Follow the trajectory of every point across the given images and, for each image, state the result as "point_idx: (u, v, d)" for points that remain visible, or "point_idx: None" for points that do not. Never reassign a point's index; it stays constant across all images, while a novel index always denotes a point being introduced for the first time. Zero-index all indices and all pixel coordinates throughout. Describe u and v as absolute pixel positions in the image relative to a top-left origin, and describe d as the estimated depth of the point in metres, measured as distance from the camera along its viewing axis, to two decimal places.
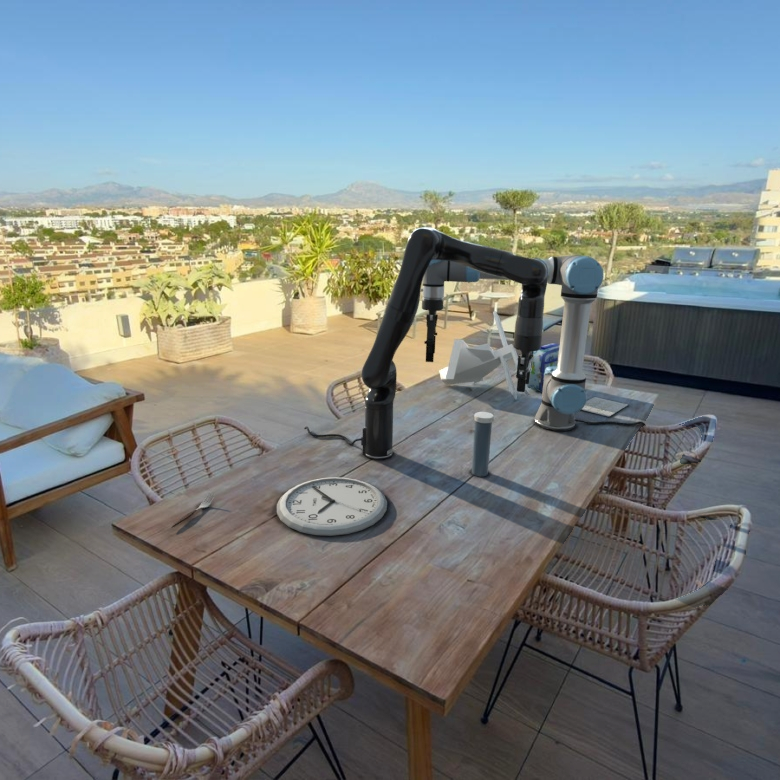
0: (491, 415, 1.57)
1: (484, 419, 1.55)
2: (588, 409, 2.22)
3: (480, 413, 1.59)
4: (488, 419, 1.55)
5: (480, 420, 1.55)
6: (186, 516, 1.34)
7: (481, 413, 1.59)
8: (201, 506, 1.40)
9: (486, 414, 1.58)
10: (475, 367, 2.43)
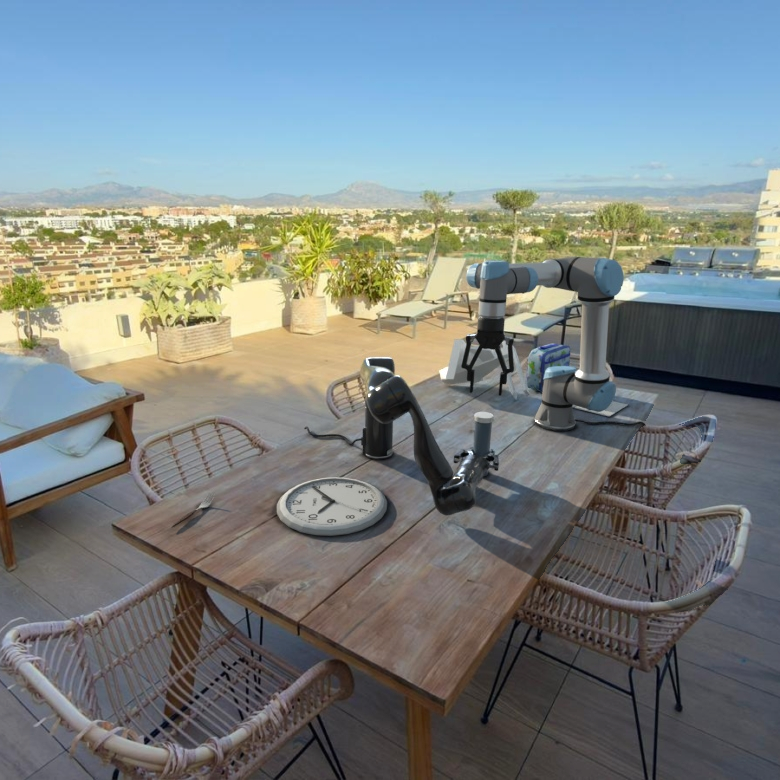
0: (491, 415, 1.57)
1: (484, 419, 1.55)
2: None
3: (480, 413, 1.59)
4: (488, 419, 1.55)
5: (480, 420, 1.55)
6: (186, 516, 1.34)
7: (481, 413, 1.59)
8: (201, 506, 1.40)
9: (486, 414, 1.58)
10: (475, 367, 2.43)
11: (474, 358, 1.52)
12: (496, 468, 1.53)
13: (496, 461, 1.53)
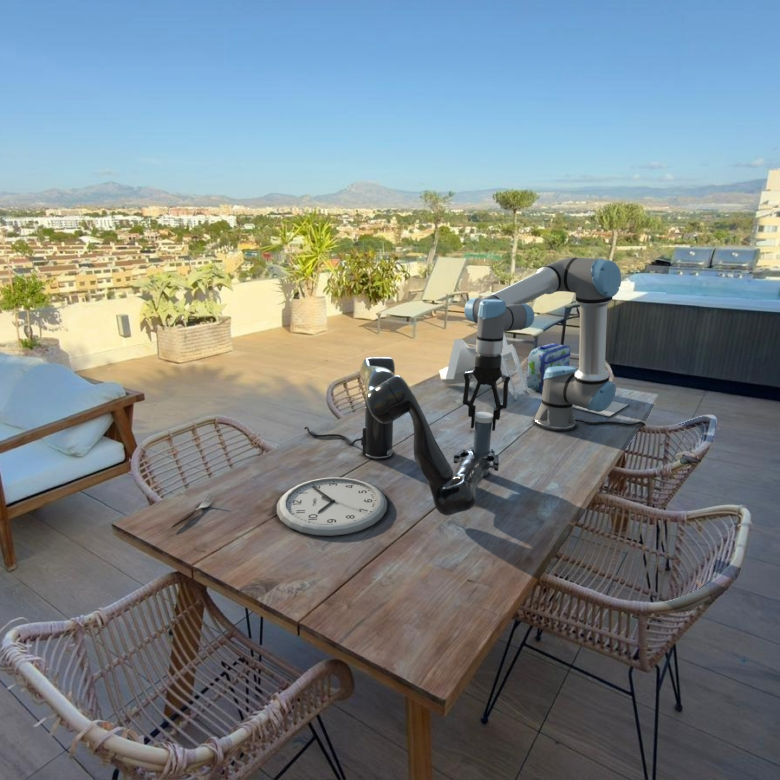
0: (491, 415, 1.57)
1: (484, 419, 1.55)
2: None
3: (480, 413, 1.59)
4: (488, 419, 1.55)
5: (480, 420, 1.55)
6: (186, 516, 1.34)
7: (481, 413, 1.59)
8: (201, 506, 1.40)
9: (486, 414, 1.58)
10: None
11: (474, 394, 1.55)
12: (496, 468, 1.53)
13: (496, 461, 1.53)
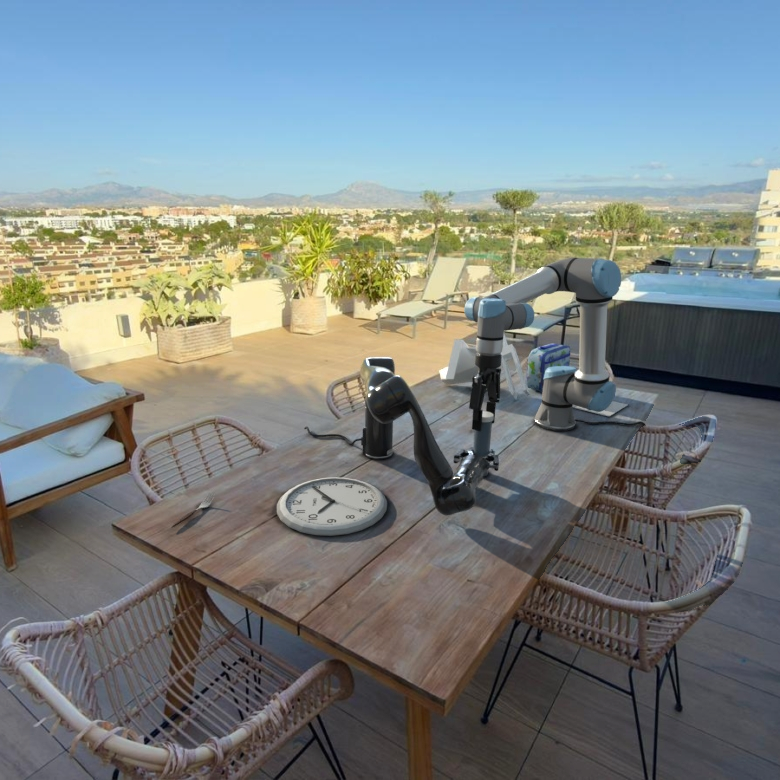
0: None
1: None
2: None
3: None
4: None
5: (493, 418, 1.57)
6: (186, 516, 1.34)
7: None
8: (201, 506, 1.40)
9: None
10: (475, 367, 2.43)
11: (483, 397, 1.52)
12: (496, 468, 1.53)
13: (496, 461, 1.53)
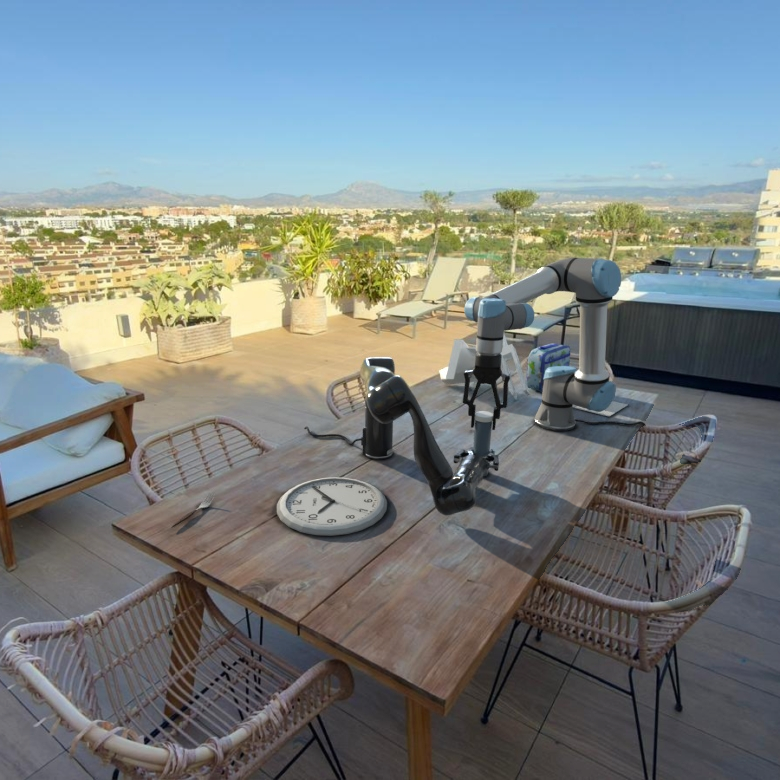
0: (482, 411, 1.59)
1: None
2: None
3: (479, 415, 1.56)
4: None
5: None
6: (186, 516, 1.34)
7: (480, 415, 1.57)
8: (201, 506, 1.40)
9: (481, 413, 1.58)
10: None
11: (474, 394, 1.55)
12: (496, 468, 1.53)
13: (496, 461, 1.53)
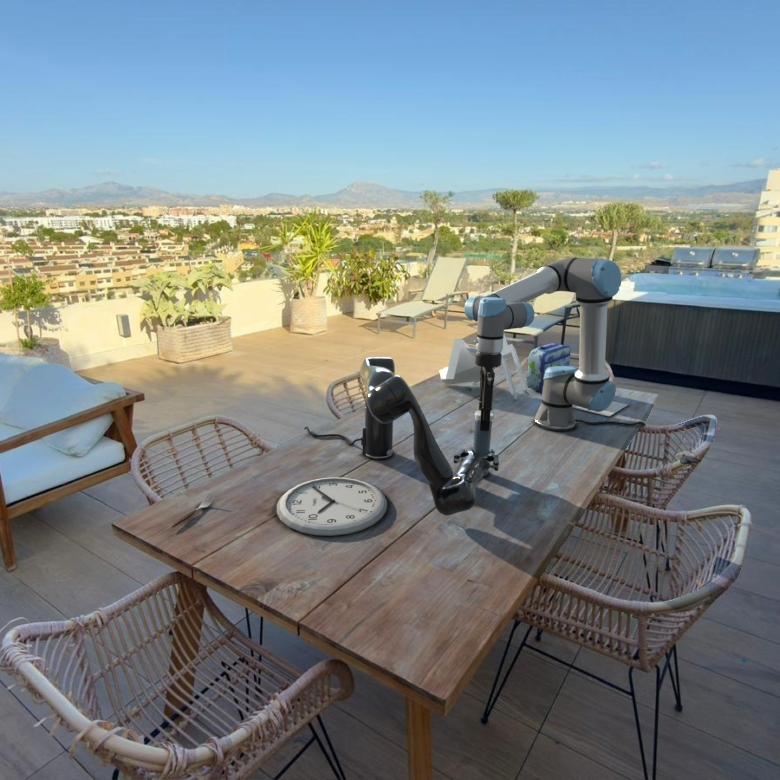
0: (477, 413, 1.57)
1: None
2: None
3: None
4: None
5: None
6: (186, 516, 1.34)
7: None
8: (201, 506, 1.40)
9: None
10: (475, 367, 2.43)
11: None
12: (496, 468, 1.53)
13: (496, 461, 1.53)
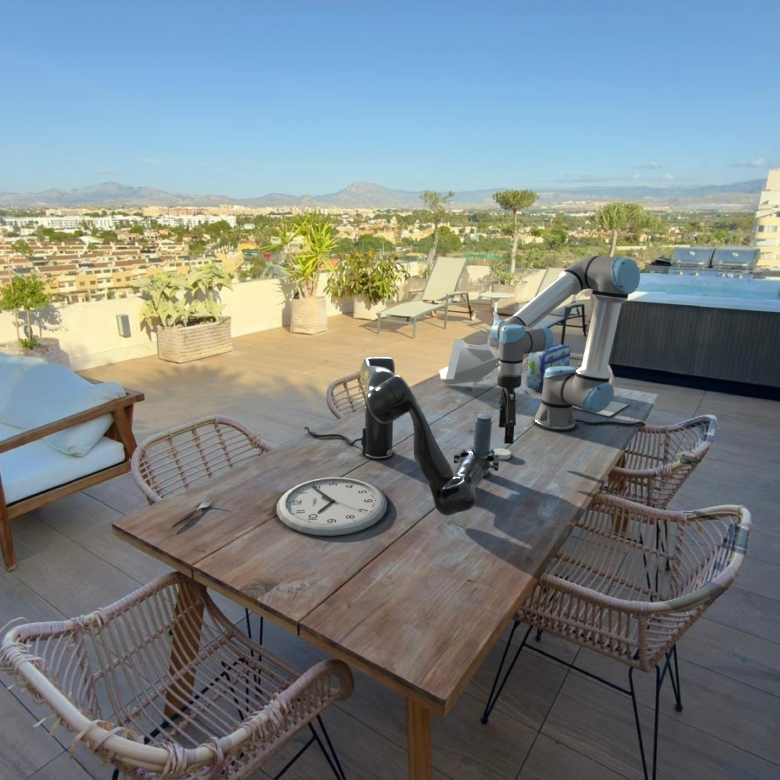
0: (496, 452, 1.75)
1: None
2: None
3: (507, 453, 1.74)
4: None
5: None
6: (186, 516, 1.34)
7: (505, 453, 1.74)
8: (201, 506, 1.40)
9: (501, 452, 1.74)
10: (475, 367, 2.43)
11: None
12: (496, 468, 1.53)
13: (496, 461, 1.53)
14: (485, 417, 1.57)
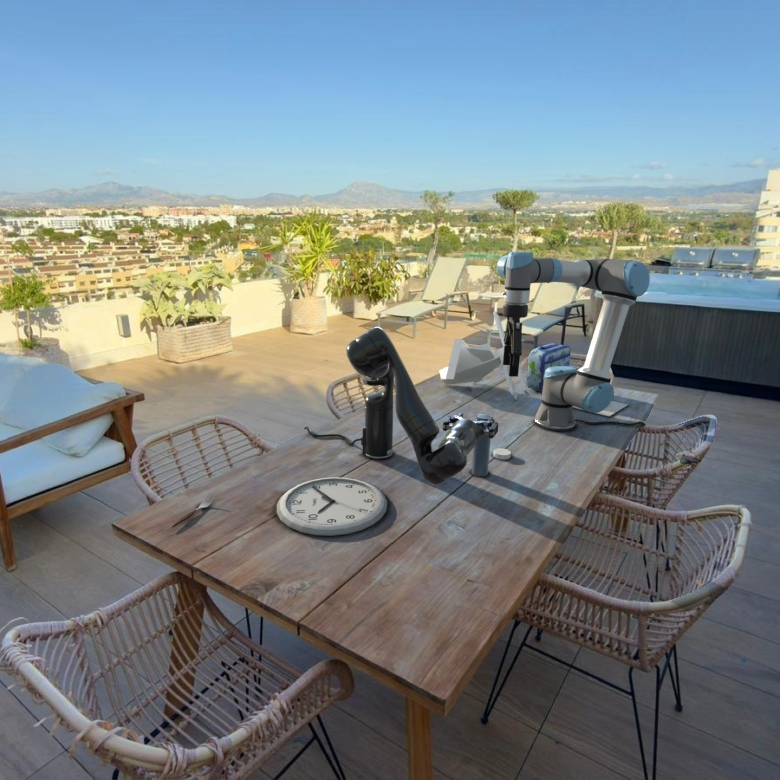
0: (496, 452, 1.75)
1: None
2: None
3: (507, 453, 1.74)
4: None
5: None
6: (186, 516, 1.34)
7: (505, 453, 1.74)
8: (201, 506, 1.40)
9: (501, 452, 1.74)
10: (475, 367, 2.43)
11: None
12: (490, 435, 1.36)
13: (491, 428, 1.36)
14: (485, 417, 1.57)
